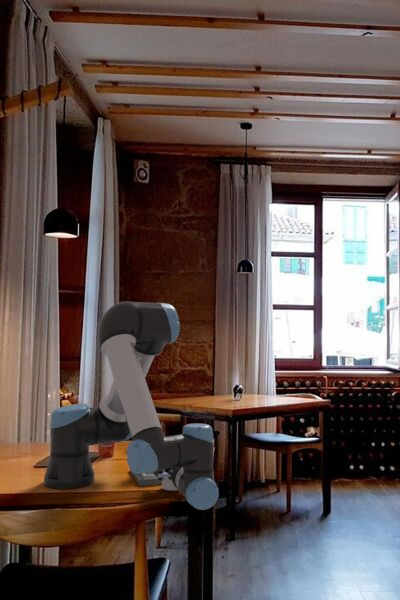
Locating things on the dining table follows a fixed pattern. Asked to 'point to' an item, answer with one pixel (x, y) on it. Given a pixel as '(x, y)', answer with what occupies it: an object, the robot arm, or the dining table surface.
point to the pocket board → (145, 478)
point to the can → (168, 485)
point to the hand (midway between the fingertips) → (169, 460)
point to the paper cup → (106, 450)
